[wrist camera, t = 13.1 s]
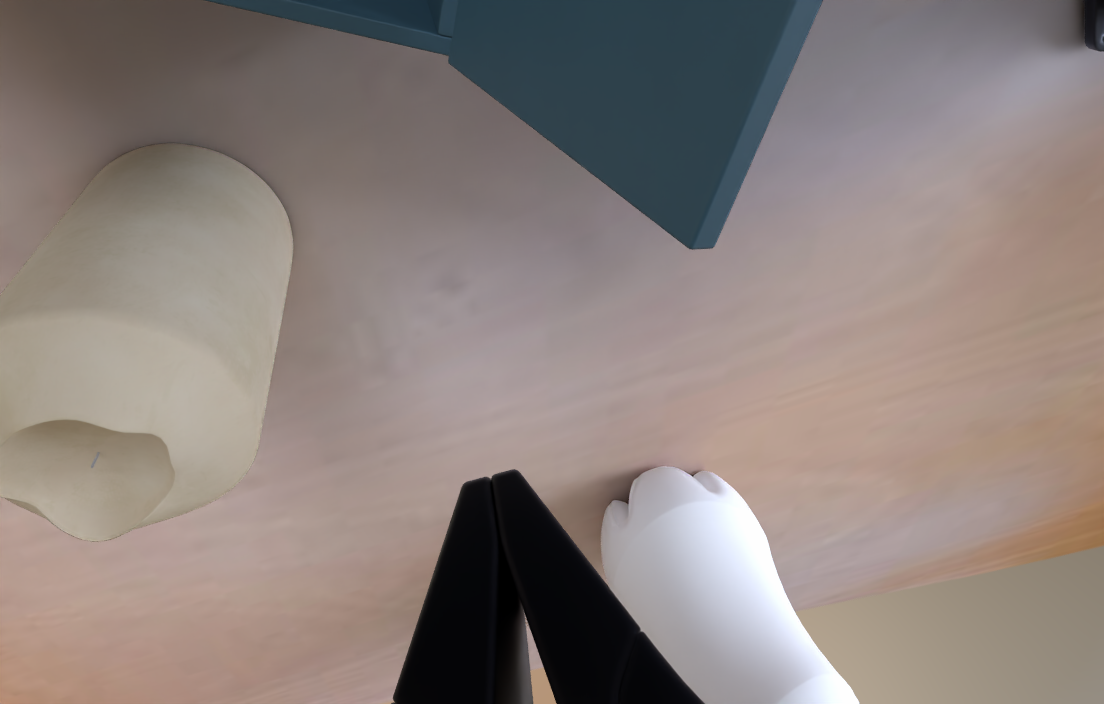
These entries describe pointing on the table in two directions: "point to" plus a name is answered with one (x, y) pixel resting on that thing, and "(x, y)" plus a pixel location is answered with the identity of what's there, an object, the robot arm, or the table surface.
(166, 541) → the table surface
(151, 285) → the candle
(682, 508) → the water bottle
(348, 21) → the carton
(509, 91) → the flap
